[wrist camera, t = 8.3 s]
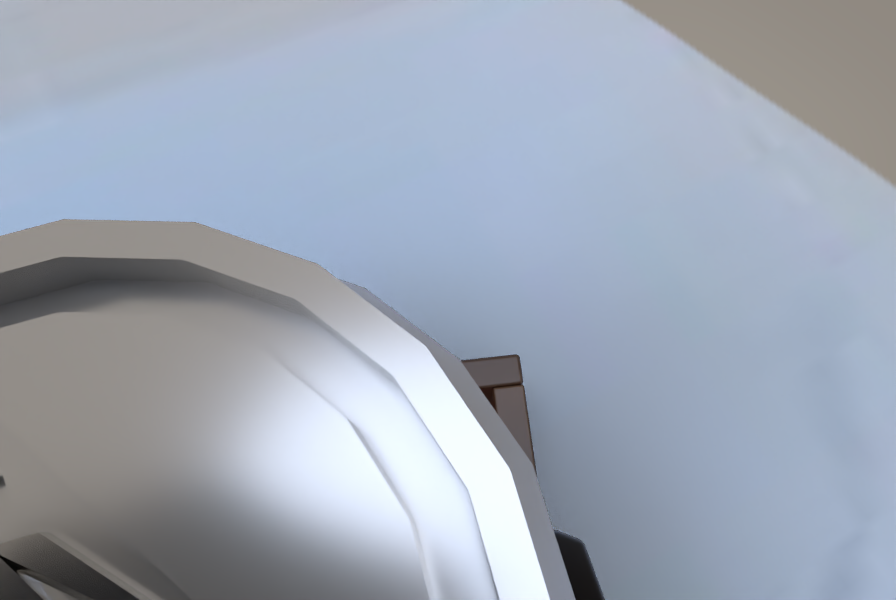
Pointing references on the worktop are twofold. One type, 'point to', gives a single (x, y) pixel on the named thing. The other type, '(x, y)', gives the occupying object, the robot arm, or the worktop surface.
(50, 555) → the beer can
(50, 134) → the worktop surface
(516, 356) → the rack
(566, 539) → the robot arm
